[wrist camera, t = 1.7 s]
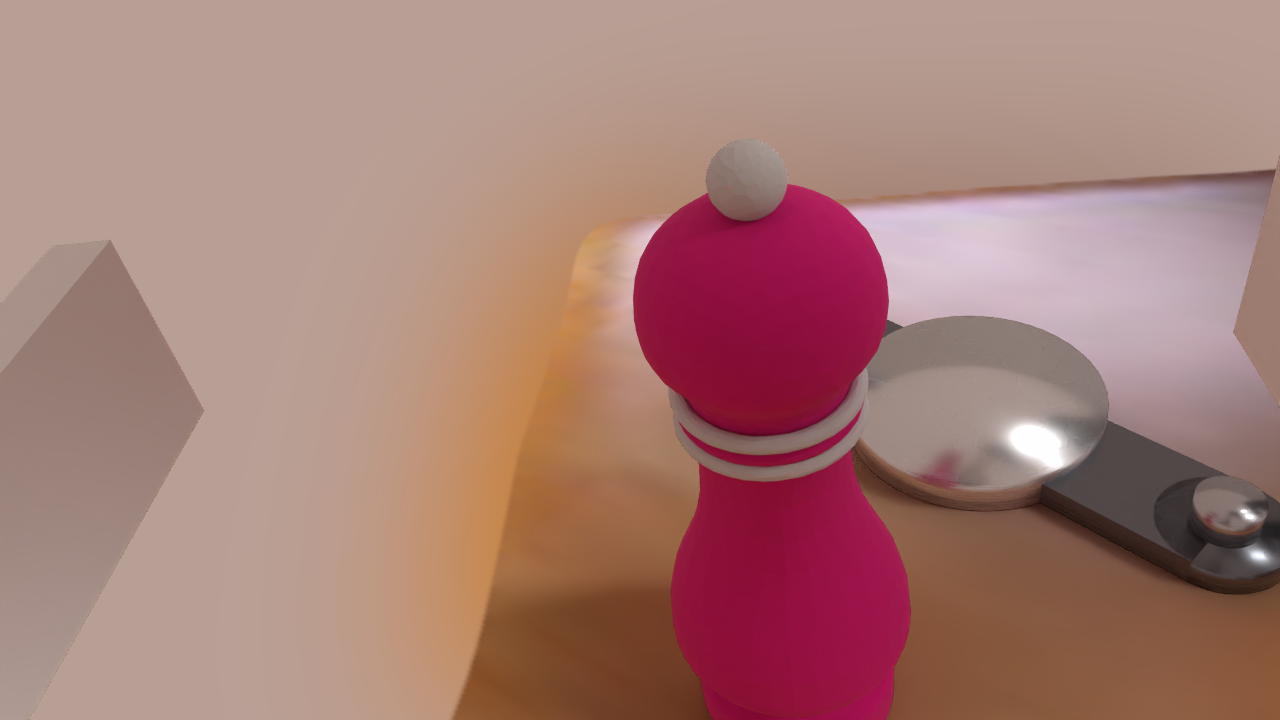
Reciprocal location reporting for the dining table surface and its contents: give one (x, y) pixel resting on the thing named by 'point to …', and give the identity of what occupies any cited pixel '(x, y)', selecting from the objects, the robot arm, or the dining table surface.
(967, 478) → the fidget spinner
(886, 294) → the pepper mill
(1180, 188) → the dining table surface
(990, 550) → the dining table surface
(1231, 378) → the dining table surface
